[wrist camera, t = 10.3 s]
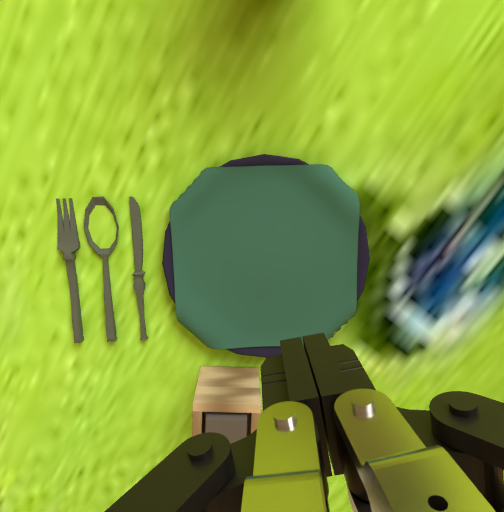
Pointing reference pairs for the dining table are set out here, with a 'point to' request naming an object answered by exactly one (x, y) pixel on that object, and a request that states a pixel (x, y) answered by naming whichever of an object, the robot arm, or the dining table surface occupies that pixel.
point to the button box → (227, 395)
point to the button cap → (227, 424)
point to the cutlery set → (247, 255)
